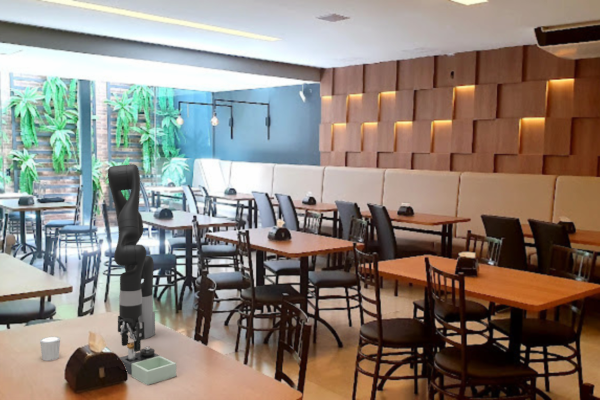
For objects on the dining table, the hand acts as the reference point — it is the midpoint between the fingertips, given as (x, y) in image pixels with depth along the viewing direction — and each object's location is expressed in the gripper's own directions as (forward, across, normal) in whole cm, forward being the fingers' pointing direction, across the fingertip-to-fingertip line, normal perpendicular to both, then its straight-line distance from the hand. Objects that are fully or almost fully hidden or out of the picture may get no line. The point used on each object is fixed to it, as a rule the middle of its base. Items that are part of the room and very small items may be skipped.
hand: (130, 348), depth 199 cm
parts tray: (+8, -11, -2) cm, 14 cm away
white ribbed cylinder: (+8, +30, +16) cm, 35 cm away
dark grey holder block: (+8, 0, -3) cm, 8 cm away
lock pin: (+8, 0, 0) cm, 8 cm away
